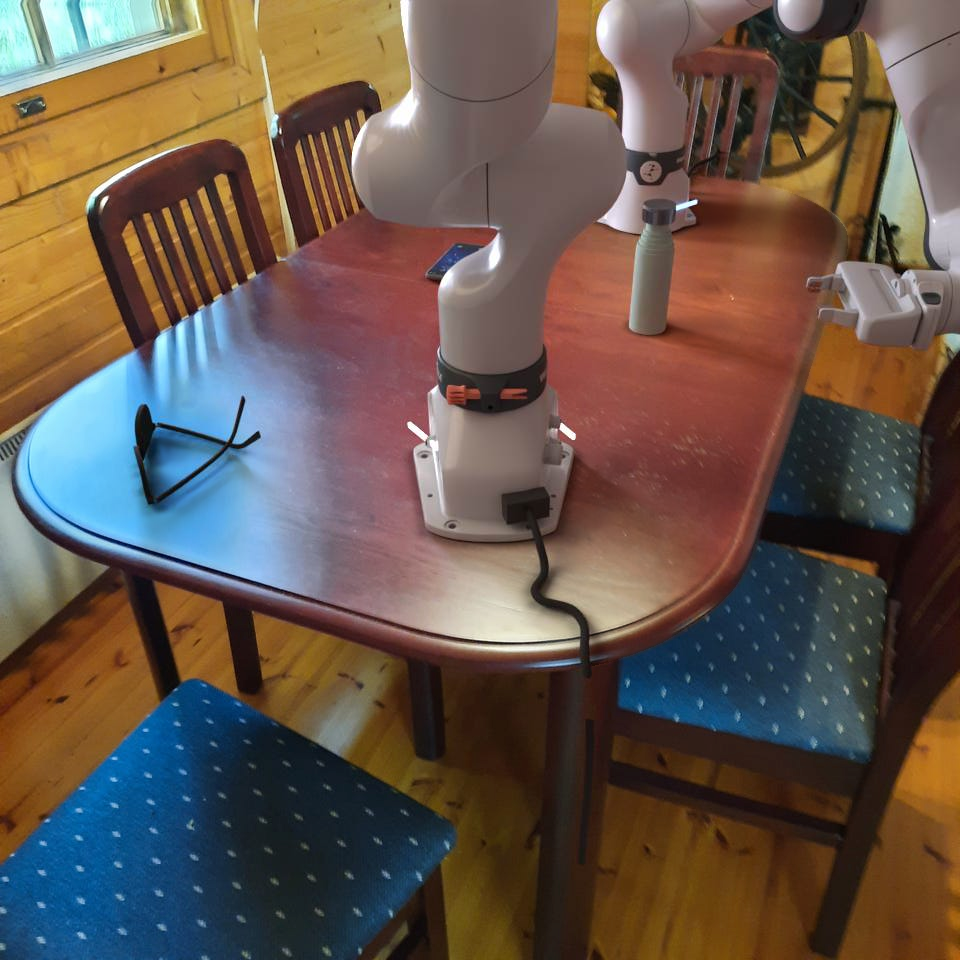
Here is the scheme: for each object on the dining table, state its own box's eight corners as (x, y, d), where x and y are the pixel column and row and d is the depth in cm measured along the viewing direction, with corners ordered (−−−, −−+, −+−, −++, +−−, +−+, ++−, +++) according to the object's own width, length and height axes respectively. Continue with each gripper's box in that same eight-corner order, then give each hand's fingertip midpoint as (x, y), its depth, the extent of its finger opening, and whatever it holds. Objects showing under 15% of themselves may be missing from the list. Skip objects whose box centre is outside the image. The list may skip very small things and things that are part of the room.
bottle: (672, 325, 127) (687, 205, 116) (652, 338, 124) (666, 216, 113) (641, 315, 130) (653, 197, 119) (621, 328, 127) (631, 208, 116)
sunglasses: (270, 486, 97) (262, 449, 94) (137, 510, 94) (125, 474, 91) (257, 411, 110) (250, 377, 107) (140, 430, 107) (130, 396, 104)
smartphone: (493, 246, 151) (464, 280, 139) (493, 251, 151) (464, 285, 140) (454, 241, 153) (422, 274, 141) (454, 246, 153) (423, 279, 142)
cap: (681, 218, 117) (683, 203, 116) (663, 228, 115) (665, 212, 113) (653, 211, 120) (654, 196, 118) (635, 220, 117) (636, 205, 116)
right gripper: (904, 252, 125) (806, 248, 127) (944, 313, 109) (830, 308, 111) (892, 292, 129) (797, 288, 131) (929, 357, 113) (820, 352, 114)
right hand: (812, 298), depth 121 cm, fingers open, 8 cm apart
